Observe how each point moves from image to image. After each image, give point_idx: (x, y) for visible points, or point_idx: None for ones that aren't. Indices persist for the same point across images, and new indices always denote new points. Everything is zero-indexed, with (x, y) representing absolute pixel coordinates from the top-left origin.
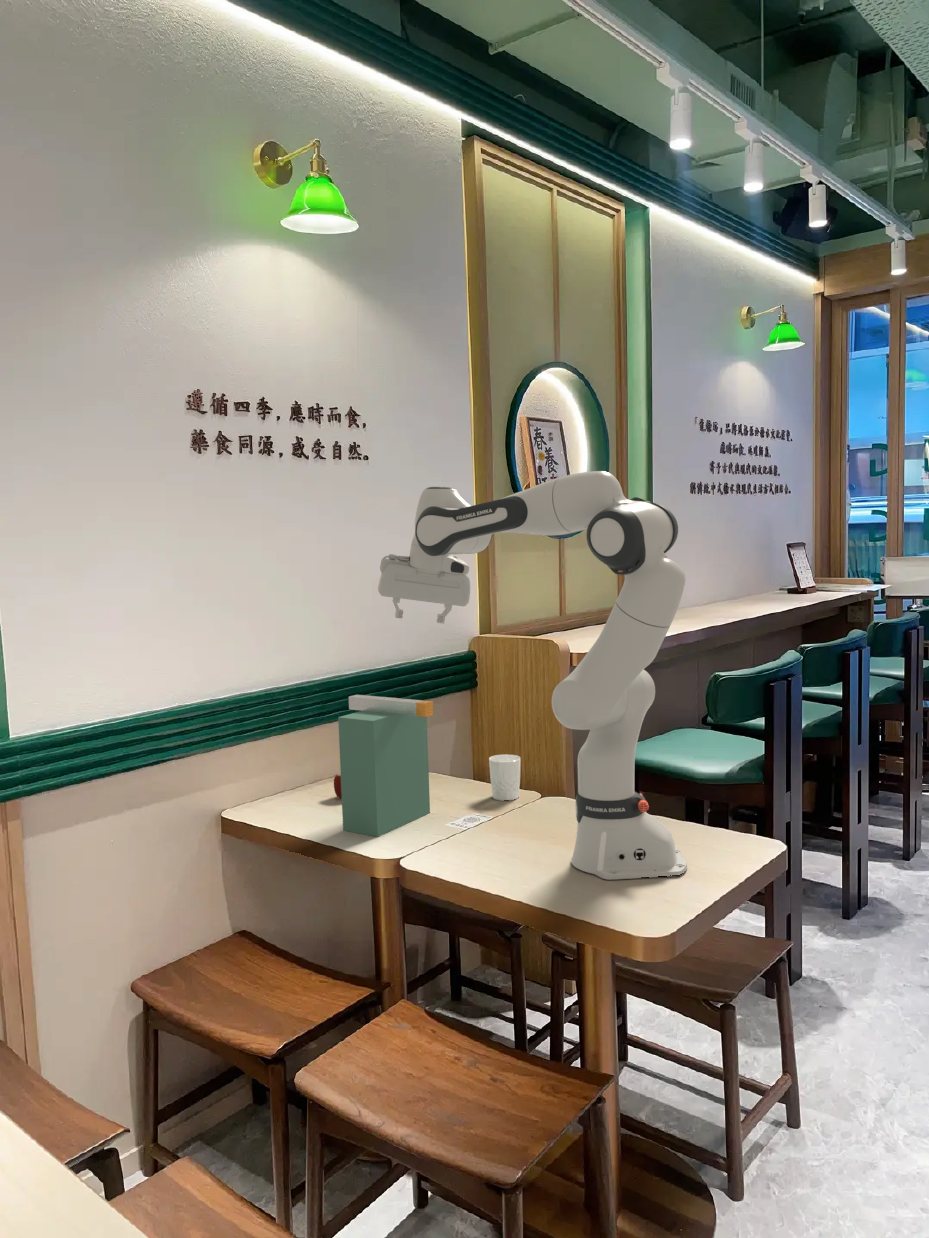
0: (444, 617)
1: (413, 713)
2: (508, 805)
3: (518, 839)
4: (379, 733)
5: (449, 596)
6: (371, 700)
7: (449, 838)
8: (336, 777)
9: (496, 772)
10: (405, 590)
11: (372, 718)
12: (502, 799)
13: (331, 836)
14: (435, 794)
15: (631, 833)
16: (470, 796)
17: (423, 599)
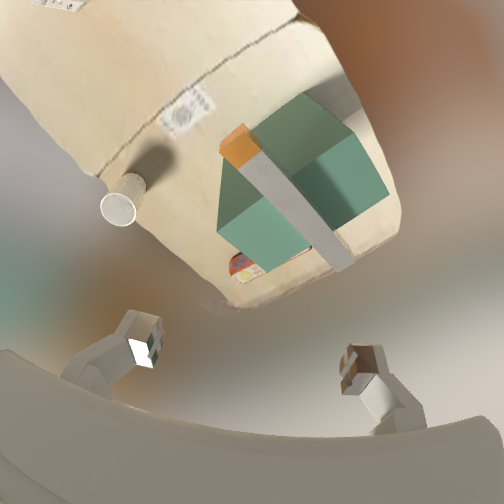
0: (119, 330)
1: (264, 147)
2: (133, 156)
3: (147, 38)
4: (330, 133)
5: (48, 425)
6: (331, 228)
7: (223, 58)
8: (310, 246)
9: (132, 191)
10: (396, 486)
11: (347, 156)
12: (136, 174)
13: (347, 116)
14: (205, 214)
15: None
16: (169, 197)
17: (247, 444)
